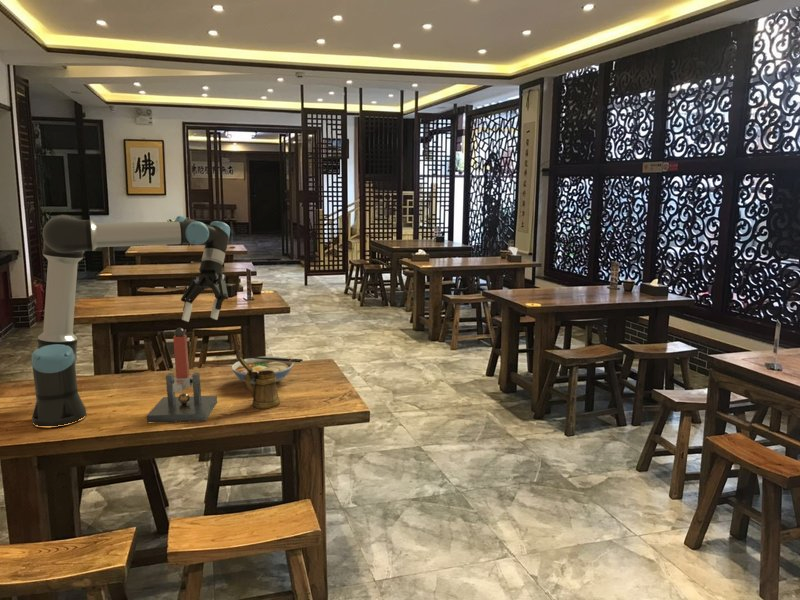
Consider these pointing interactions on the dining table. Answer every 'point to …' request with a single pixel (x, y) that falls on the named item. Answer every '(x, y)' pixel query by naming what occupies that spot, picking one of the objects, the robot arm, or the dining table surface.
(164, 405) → the stand
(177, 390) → the lever
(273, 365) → the ramen bowl
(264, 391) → the wooden mug
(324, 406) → the dining table surface
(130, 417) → the dining table surface
